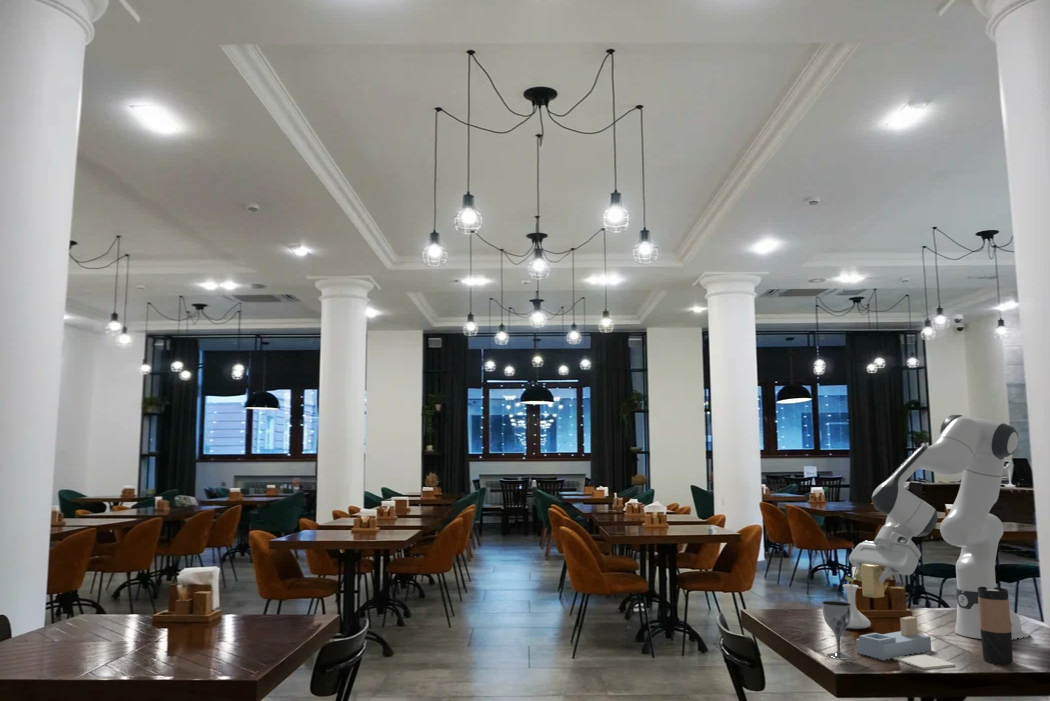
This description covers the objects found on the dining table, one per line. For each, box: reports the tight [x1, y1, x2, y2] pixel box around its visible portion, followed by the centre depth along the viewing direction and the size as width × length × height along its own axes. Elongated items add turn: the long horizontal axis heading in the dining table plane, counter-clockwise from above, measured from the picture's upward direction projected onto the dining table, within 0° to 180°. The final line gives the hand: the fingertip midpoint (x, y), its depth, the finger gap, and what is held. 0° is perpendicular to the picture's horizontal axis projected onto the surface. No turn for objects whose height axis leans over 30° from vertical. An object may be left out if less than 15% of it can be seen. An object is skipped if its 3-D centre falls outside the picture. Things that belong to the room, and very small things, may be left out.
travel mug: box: [978, 586, 1014, 665], centre depth 221 cm, size 8×8×20 cm
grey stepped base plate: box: [855, 615, 932, 661], centre depth 232 cm, size 22×9×9 cm, turn 119°
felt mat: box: [892, 653, 956, 670], centre depth 219 cm, size 11×11×1 cm
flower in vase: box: [842, 567, 872, 630], centre depth 265 cm, size 13×11×25 cm
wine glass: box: [821, 600, 852, 659], centre depth 227 cm, size 8×8×15 cm
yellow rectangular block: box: [860, 564, 885, 599], centre depth 231 cm, size 4×4×9 cm
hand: (871, 579), depth 230 cm, fingers closed on yellow rectangular block, 4 cm apart
